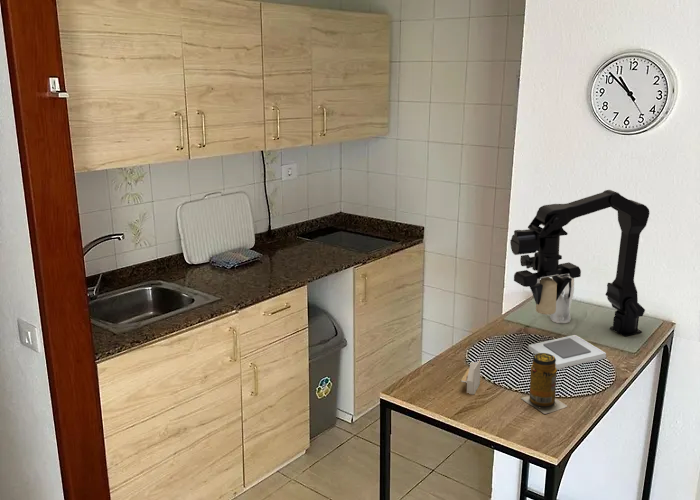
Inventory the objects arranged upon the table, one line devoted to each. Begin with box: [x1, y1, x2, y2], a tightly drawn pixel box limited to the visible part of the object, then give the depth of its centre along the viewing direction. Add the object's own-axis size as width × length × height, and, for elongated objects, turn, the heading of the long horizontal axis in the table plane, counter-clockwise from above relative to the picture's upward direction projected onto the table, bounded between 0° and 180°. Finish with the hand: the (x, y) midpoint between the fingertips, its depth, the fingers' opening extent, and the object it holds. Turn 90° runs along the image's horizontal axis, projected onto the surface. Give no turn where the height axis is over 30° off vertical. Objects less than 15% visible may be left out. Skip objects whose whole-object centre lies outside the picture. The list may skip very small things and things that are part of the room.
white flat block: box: [528, 334, 607, 370], centre depth 182 cm, size 16×13×2 cm
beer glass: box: [550, 276, 575, 324], centre depth 202 cm, size 7×7×15 cm
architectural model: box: [460, 359, 481, 395], centre depth 167 cm, size 3×7×7 cm, turn 154°
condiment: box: [520, 353, 568, 415], centre depth 157 cm, size 7×8×12 cm
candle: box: [535, 277, 557, 316], centre depth 187 cm, size 6×6×10 cm
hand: (546, 302), depth 187 cm, fingers closed on candle, 5 cm apart
